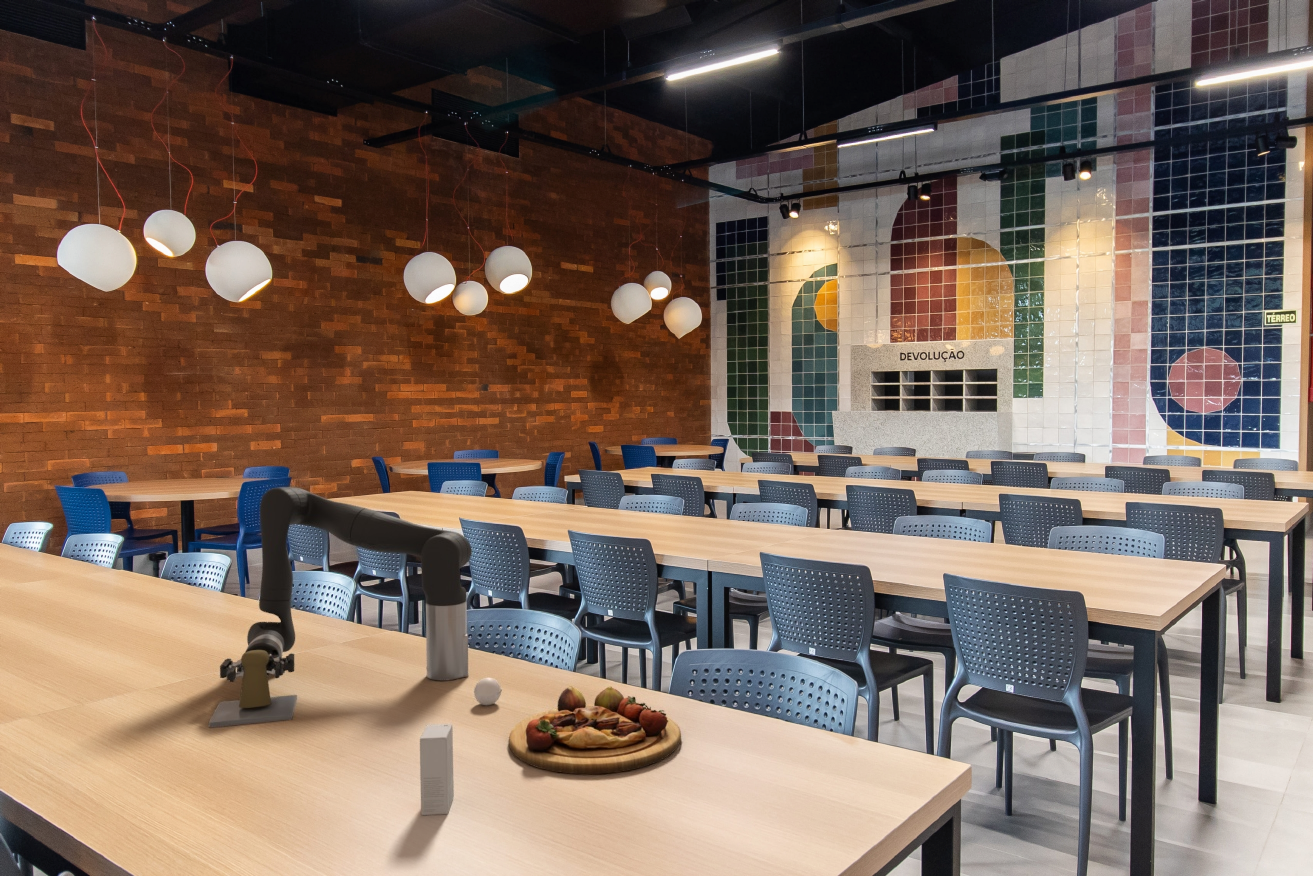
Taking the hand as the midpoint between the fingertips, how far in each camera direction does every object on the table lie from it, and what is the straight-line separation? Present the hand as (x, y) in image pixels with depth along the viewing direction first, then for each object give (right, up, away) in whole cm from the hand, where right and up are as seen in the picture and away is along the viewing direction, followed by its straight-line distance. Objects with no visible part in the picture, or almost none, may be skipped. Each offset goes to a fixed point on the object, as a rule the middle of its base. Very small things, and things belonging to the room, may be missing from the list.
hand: (254, 675), depth 180 cm
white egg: (+47, -8, +6) cm, 48 cm away
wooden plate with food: (+71, -9, -16) cm, 73 cm away
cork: (0, -6, +1) cm, 7 cm away
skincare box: (+48, -9, -43) cm, 65 cm away
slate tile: (0, -8, 0) cm, 8 cm away
